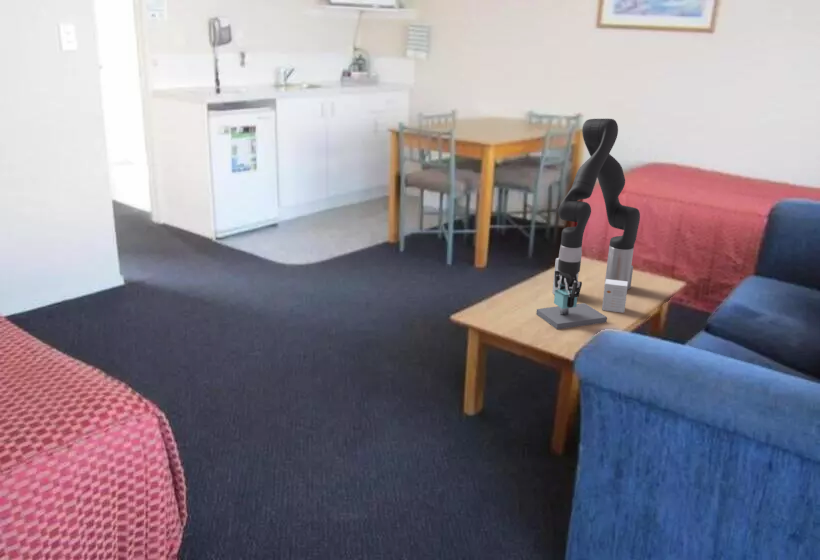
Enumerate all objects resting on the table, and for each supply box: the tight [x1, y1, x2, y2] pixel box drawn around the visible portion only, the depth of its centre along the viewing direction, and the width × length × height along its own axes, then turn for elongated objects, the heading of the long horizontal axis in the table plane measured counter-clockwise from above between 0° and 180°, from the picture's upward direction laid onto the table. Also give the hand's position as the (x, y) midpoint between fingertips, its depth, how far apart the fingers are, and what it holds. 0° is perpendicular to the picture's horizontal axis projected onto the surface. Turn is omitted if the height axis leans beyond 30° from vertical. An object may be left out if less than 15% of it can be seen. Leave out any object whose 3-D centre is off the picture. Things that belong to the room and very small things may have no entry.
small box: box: [601, 279, 628, 314], centre depth 250 cm, size 8×6×10 cm
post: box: [560, 308, 569, 315], centre depth 240 cm, size 3×3×6 cm
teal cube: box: [553, 289, 578, 309], centre depth 239 cm, size 6×6×5 cm
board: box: [535, 302, 608, 330], centre depth 242 cm, size 20×14×2 cm
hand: (565, 303), depth 240 cm, fingers closed on teal cube, 5 cm apart
